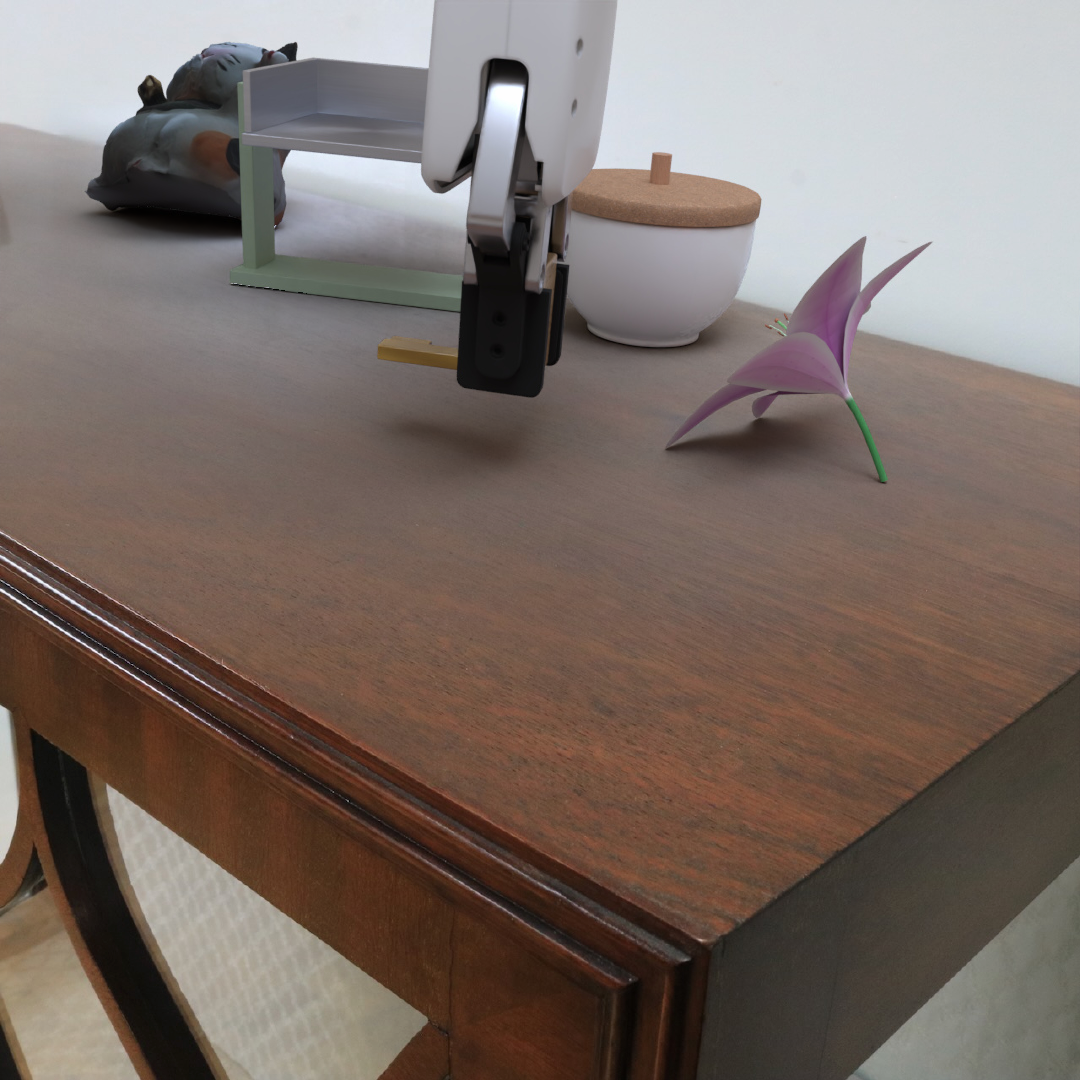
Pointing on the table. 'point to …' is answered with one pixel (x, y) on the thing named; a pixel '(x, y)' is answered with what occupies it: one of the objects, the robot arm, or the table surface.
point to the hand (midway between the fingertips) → (510, 370)
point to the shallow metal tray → (337, 108)
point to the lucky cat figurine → (188, 139)
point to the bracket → (316, 273)
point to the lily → (811, 345)
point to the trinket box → (657, 252)
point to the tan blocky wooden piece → (440, 355)
